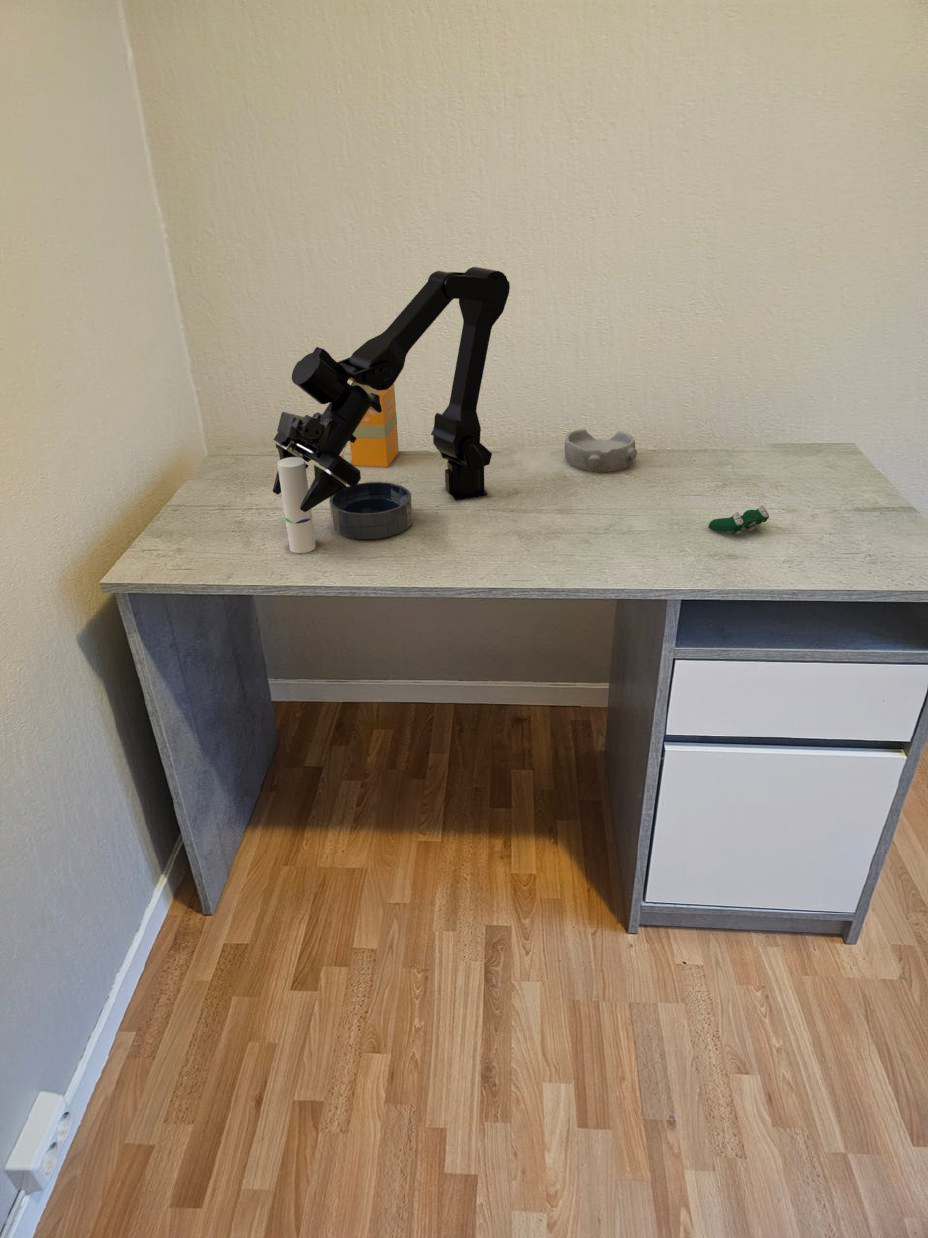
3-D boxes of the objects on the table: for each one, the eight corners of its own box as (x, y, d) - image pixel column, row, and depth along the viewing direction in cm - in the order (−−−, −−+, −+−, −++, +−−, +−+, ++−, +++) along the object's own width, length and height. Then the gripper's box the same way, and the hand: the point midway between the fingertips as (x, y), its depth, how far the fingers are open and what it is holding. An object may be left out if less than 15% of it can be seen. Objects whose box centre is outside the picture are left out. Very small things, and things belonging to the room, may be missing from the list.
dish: (558, 451, 175) (559, 428, 172) (622, 447, 176) (624, 424, 173) (573, 477, 162) (574, 453, 160) (642, 473, 164) (645, 448, 161)
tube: (295, 540, 142) (283, 456, 134) (319, 542, 141) (308, 457, 133) (286, 552, 138) (273, 466, 130) (310, 553, 137) (298, 467, 129)
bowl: (401, 502, 154) (399, 477, 152) (421, 533, 143) (420, 506, 140) (326, 514, 151) (323, 488, 148) (341, 547, 139) (338, 519, 137)
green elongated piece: (713, 544, 141) (735, 531, 135) (705, 523, 141) (726, 509, 136) (754, 532, 144) (777, 518, 139) (746, 512, 145) (768, 498, 139)
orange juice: (399, 451, 177) (393, 356, 166) (387, 467, 170) (380, 367, 159) (364, 450, 178) (355, 354, 168) (351, 465, 171) (341, 366, 161)
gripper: (276, 379, 135) (224, 460, 135) (336, 405, 122) (278, 495, 122) (324, 416, 143) (275, 493, 143) (385, 444, 130) (331, 529, 130)
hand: (288, 501), depth 134 cm, fingers open, 9 cm apart
